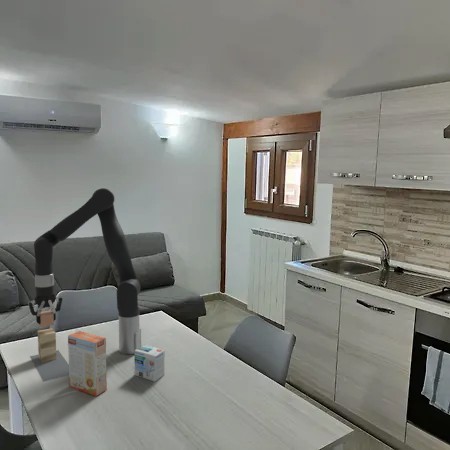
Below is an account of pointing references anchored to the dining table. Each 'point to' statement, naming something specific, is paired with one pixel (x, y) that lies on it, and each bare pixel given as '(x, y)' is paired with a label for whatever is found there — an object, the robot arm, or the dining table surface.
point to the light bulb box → (149, 362)
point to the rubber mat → (51, 367)
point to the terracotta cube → (46, 318)
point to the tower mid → (46, 338)
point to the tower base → (47, 353)
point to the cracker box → (87, 362)
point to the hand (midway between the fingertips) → (46, 322)
